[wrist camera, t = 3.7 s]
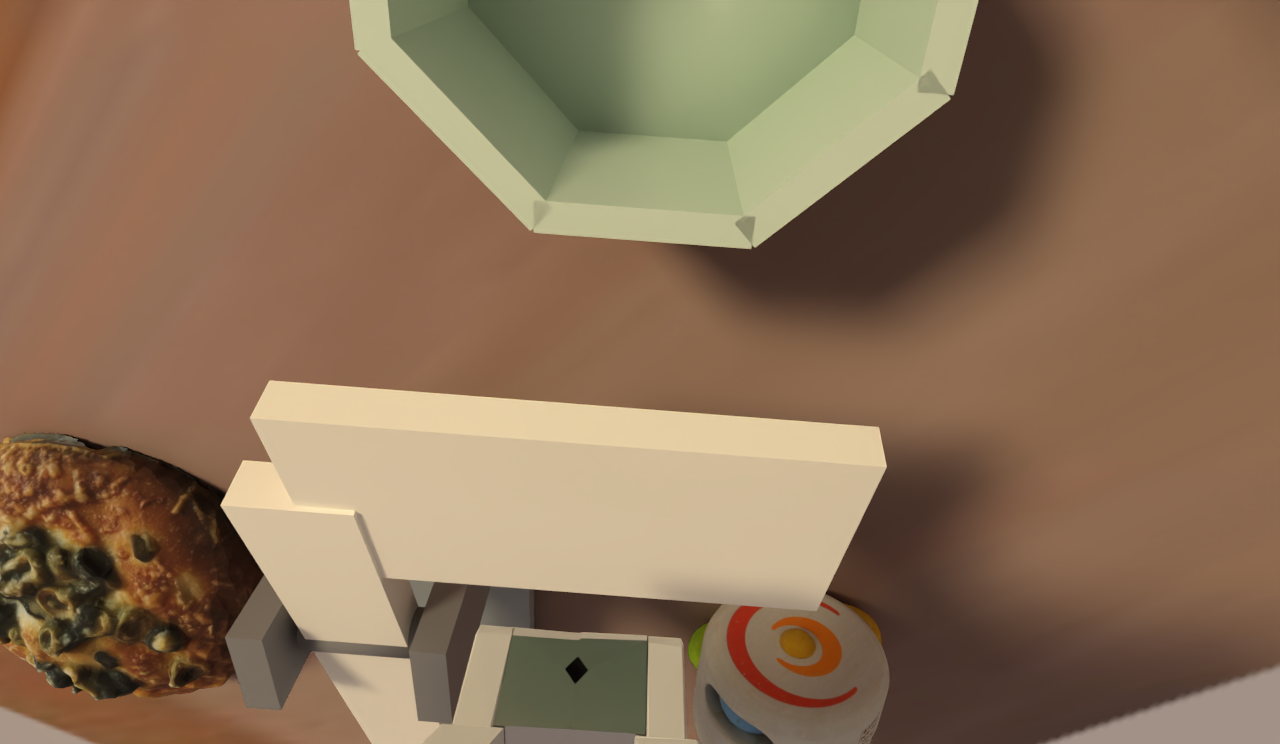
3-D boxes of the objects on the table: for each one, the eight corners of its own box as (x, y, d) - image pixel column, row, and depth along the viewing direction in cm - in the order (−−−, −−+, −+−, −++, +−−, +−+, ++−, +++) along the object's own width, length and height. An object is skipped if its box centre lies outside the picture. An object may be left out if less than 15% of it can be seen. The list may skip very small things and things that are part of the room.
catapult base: (331, 389, 23) (182, 592, 16) (532, 404, 23) (470, 614, 16) (397, 781, 33) (323, 1009, 26) (535, 792, 33) (498, 1022, 26)
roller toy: (697, 558, 26) (701, 711, 21) (884, 573, 26) (934, 730, 21) (683, 647, 28) (685, 804, 23) (856, 661, 28) (895, 821, 23)
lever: (111, 359, 13) (1, 507, 11) (877, 417, 13) (908, 577, 11) (397, 793, 32) (376, 875, 30) (702, 817, 32) (702, 901, 30)
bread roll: (352, 587, 27) (271, 717, 23) (187, 665, 32) (96, 783, 28) (87, 356, 23) (-69, 463, 19) (-54, 486, 28) (-202, 592, 24)
